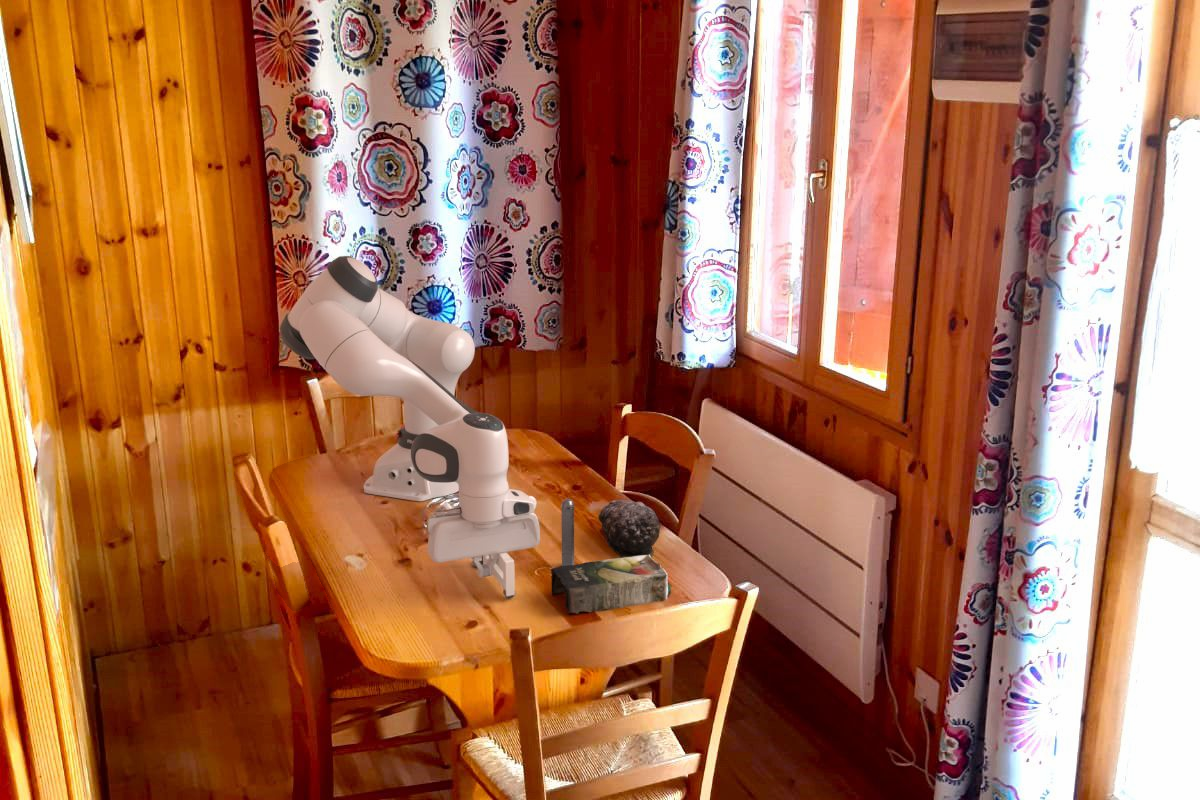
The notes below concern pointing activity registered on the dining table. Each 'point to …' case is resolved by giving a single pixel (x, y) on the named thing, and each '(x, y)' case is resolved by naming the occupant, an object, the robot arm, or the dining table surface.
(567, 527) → the latch post
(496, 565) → the gate
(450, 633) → the dining table surface
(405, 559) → the dining table surface
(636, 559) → the juice carton
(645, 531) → the pine cone
